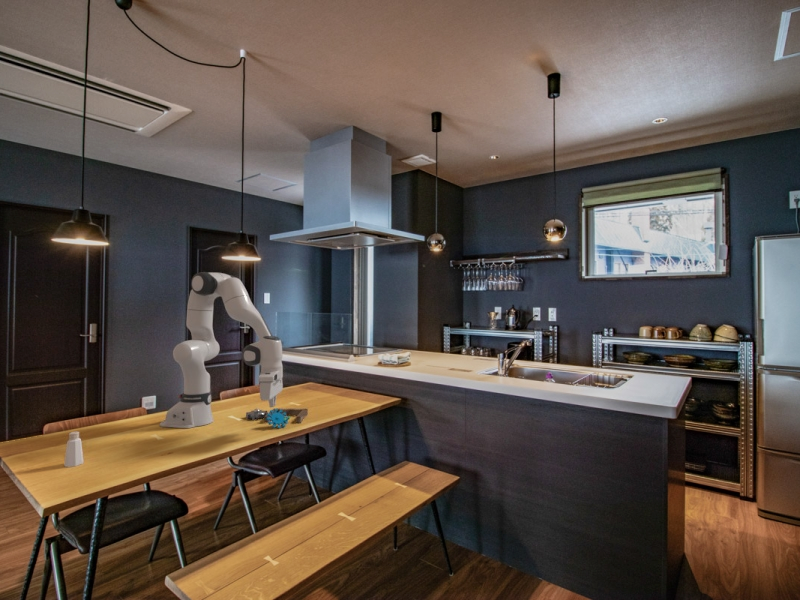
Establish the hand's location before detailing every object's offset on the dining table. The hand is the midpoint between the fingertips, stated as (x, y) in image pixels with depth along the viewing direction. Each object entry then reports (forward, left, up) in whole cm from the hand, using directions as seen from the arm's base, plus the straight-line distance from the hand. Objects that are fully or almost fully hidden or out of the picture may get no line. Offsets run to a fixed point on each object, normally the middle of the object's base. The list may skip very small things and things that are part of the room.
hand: (272, 406), depth 180 cm
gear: (-1, +11, -12) cm, 17 cm away
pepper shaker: (-59, -34, -12) cm, 69 cm away
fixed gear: (-16, +26, -12) cm, 33 cm away
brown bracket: (-1, +24, -12) cm, 27 cm away
